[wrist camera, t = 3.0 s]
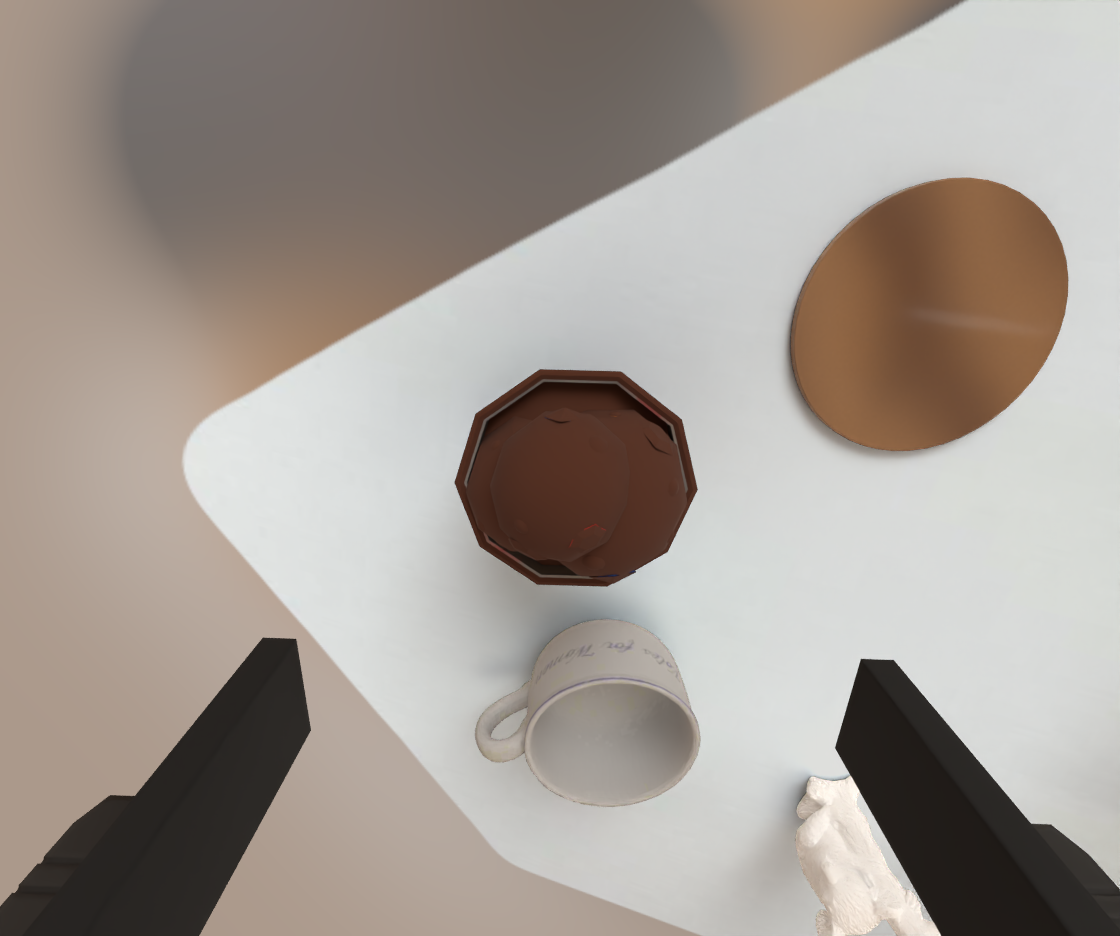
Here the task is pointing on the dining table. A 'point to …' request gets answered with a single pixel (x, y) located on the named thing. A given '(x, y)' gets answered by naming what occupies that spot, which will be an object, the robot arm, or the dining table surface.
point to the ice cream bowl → (576, 477)
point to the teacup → (600, 717)
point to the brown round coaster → (929, 314)
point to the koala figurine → (850, 866)
